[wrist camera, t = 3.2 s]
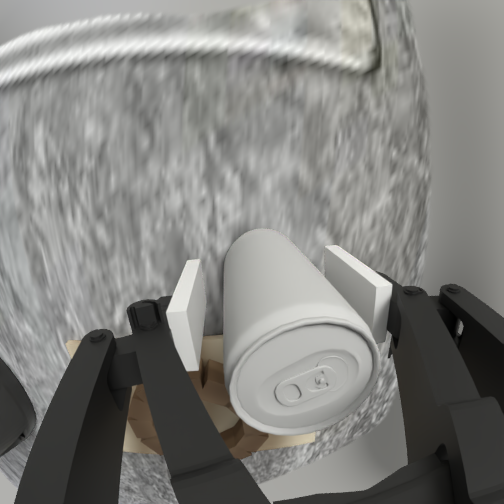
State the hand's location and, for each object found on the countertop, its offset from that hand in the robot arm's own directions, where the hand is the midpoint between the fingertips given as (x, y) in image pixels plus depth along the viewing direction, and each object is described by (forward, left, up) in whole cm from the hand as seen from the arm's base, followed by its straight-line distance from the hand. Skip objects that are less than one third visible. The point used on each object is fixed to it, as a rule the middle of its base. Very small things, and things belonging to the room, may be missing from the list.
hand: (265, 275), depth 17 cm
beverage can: (0, 0, -2) cm, 2 cm away
